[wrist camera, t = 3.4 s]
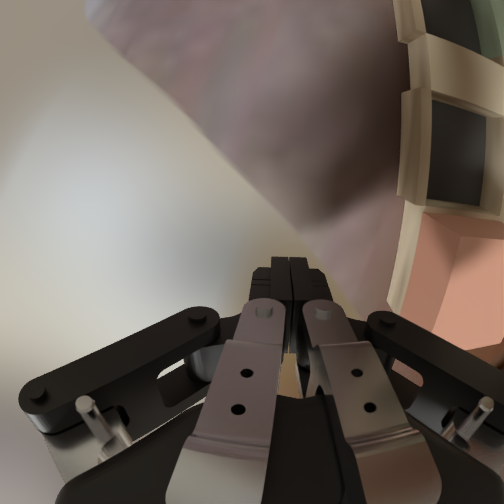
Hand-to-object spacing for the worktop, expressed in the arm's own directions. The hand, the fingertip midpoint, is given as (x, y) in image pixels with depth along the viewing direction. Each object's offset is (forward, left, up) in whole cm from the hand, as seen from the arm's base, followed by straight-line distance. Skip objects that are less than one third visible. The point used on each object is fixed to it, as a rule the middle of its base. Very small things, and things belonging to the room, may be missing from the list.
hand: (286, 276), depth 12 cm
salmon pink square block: (-10, 0, -1) cm, 10 cm away
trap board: (-14, -9, -4) cm, 17 cm away
